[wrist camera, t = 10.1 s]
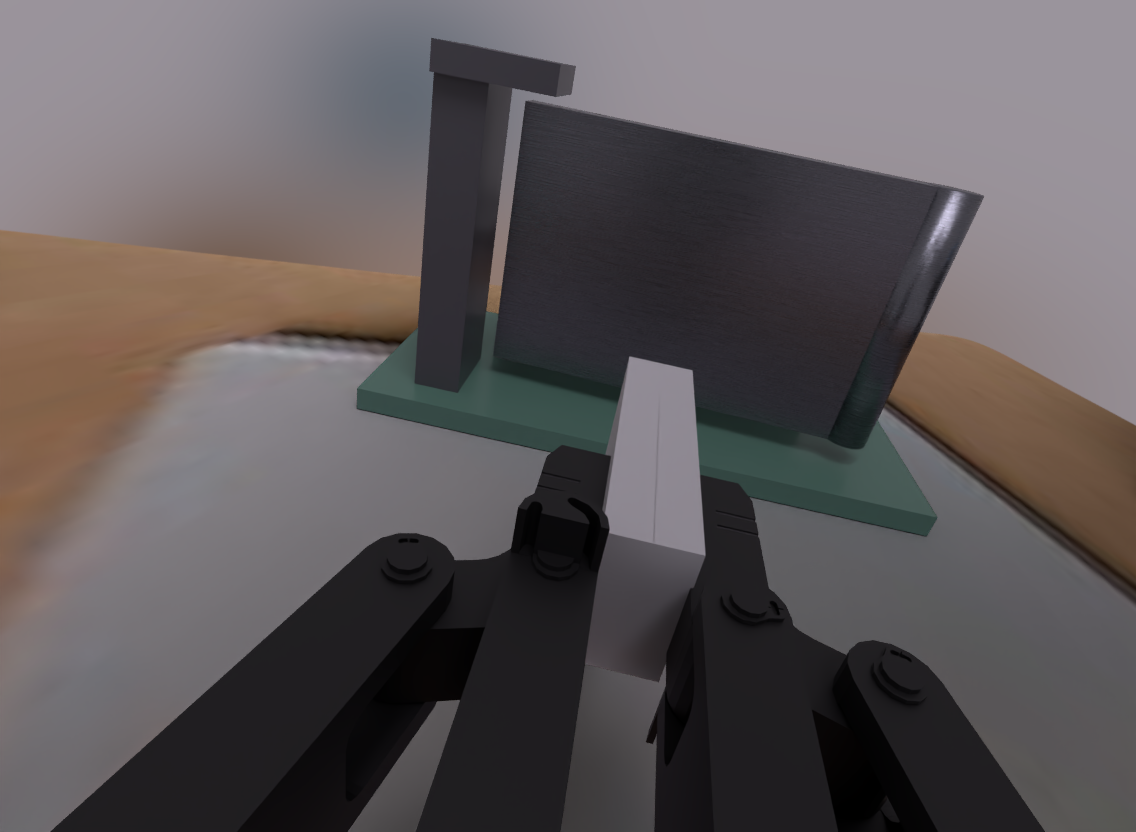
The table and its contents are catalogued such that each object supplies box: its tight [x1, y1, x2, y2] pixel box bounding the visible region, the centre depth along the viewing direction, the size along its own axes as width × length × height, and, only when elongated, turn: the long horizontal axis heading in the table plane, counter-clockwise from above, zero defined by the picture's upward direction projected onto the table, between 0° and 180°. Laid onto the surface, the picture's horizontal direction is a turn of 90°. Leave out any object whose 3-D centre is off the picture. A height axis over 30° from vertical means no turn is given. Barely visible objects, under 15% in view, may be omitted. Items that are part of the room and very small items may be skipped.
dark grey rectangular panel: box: [493, 100, 984, 449], centre depth 27 cm, size 18×2×11 cm, turn 78°
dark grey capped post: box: [415, 38, 576, 393], centre depth 27 cm, size 4×4×14 cm
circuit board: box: [357, 311, 938, 536], centre depth 32 cm, size 25×12×1 cm, turn 82°
